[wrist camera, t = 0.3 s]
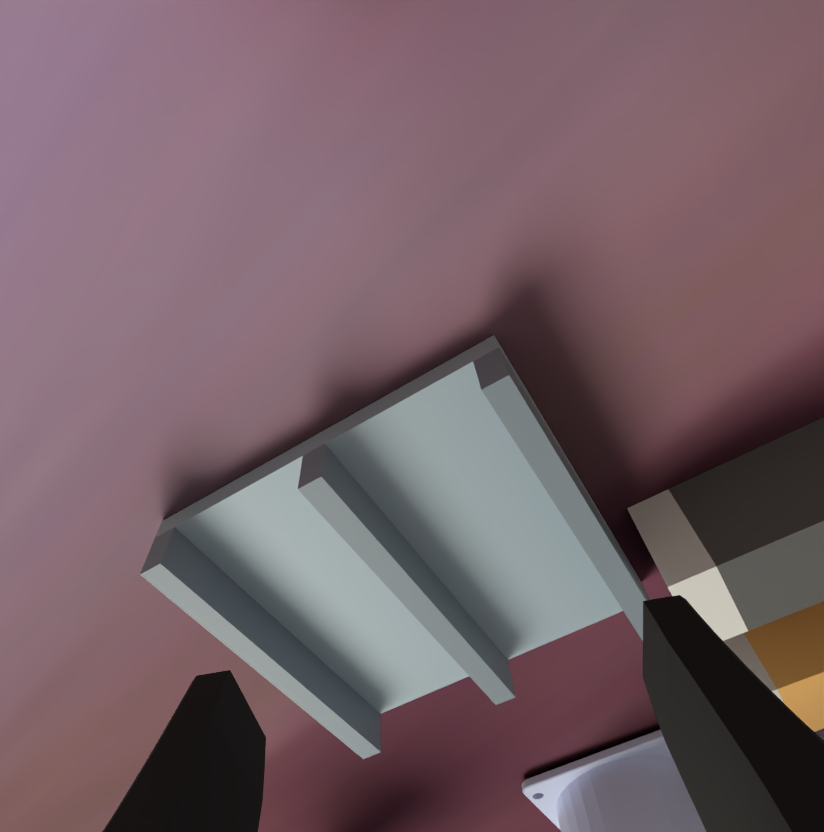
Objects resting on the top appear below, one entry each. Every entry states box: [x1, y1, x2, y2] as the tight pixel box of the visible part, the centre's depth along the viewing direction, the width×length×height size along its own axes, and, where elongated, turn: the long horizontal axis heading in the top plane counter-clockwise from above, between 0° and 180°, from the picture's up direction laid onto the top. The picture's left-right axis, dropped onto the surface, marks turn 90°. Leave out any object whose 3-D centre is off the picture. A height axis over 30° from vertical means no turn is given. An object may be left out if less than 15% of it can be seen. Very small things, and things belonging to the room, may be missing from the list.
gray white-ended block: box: [627, 417, 824, 641], centre depth 21 cm, size 8×3×4 cm, turn 121°
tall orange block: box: [723, 601, 824, 732], centre depth 24 cm, size 8×3×4 cm, turn 121°
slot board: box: [140, 335, 650, 759], centre depth 22 cm, size 12×12×2 cm
